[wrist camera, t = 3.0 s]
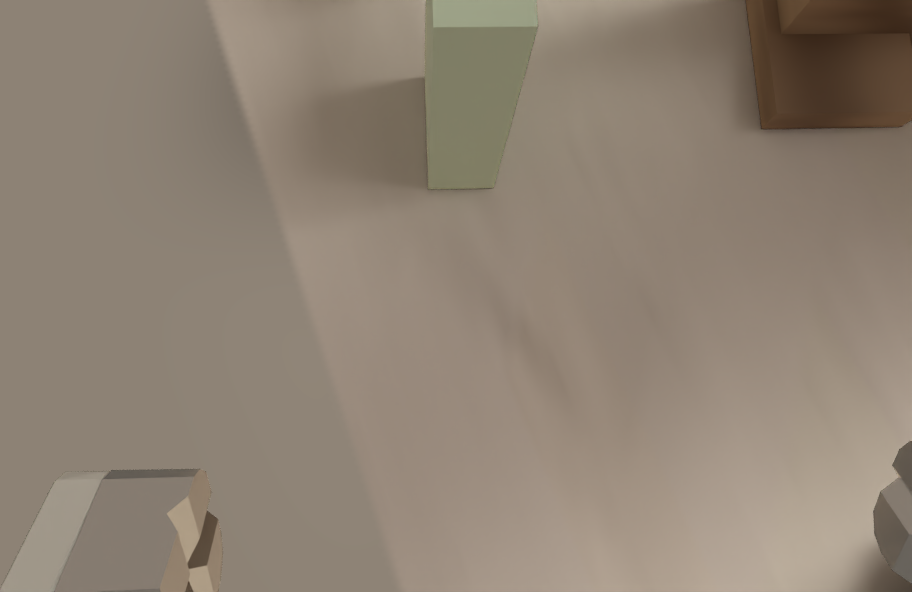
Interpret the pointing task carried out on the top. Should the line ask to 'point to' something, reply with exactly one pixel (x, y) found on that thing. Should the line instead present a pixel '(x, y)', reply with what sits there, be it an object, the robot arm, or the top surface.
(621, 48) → the top surface
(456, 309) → the top surface
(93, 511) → the robot arm
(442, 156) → the green slotted plate
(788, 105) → the walnut slotted board
